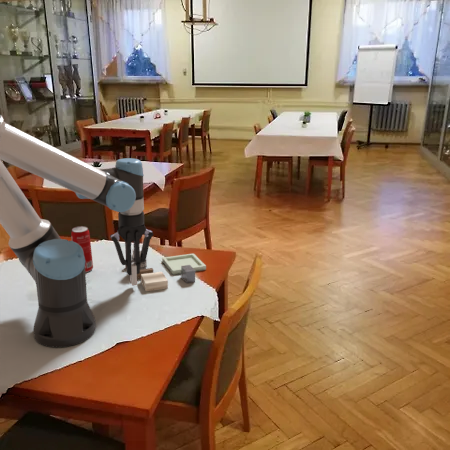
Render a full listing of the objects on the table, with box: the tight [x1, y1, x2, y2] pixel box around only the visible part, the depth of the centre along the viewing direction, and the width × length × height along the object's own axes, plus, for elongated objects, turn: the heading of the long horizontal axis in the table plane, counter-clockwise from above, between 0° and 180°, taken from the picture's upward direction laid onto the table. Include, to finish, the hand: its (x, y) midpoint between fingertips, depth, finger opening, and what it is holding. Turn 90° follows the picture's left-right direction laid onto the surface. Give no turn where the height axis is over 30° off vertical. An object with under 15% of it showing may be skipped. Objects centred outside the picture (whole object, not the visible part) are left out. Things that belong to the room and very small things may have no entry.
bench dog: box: [180, 265, 196, 284], centre depth 149 cm, size 5×3×4 cm, turn 25°
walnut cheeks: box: [124, 265, 154, 280], centre depth 153 cm, size 10×7×2 cm
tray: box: [161, 253, 207, 276], centre depth 160 cm, size 12×12×2 cm
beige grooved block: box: [140, 271, 169, 292], centre depth 144 cm, size 7×7×3 cm
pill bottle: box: [131, 246, 147, 270], centre depth 152 cm, size 5×5×8 cm
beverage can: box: [70, 225, 94, 273], centre depth 151 cm, size 6×6×15 cm
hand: (133, 283), depth 142 cm, fingers closed
